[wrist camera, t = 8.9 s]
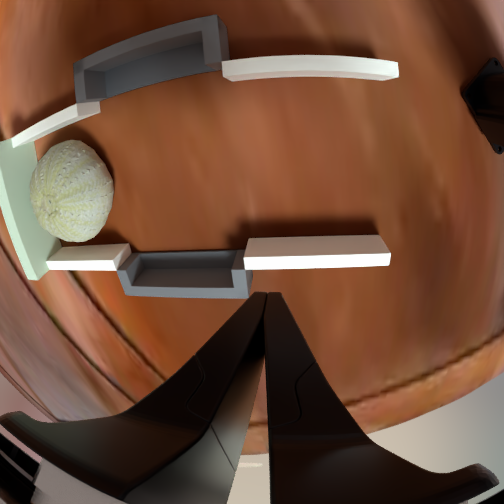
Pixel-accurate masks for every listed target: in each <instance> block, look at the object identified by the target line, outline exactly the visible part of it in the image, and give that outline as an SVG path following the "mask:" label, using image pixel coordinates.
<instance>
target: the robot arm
mask: <svg viewBox="0 0 504 504" xmlns="http://www.w3.org/2000/svg"><path fill="white" fill-rule="evenodd" d="M494 62H495V63H494ZM467 93H468V95H469V98H468V97H467ZM462 96H463V99H464V100H465V102H466V103H467V105H468V106H469V108H470V109H471V111H472V112H473V114H474V116H475V119H476V121H477V122H478V124H479V126H480V127H481V129H482V131H483V132H484V134H485V136H486V138H487V140H488V141H489V142H490V143H491V145H492V147H493V149H494V151H495V153H497V154H502V153H503V152H504V69H503V68H502V66H501V64H500V63H499V61H498V60H497V59H496V58H490V59H489V61H488V62H487V63H486V64H485V65H484V67H483V68H482V69H481V70H480V71H479V73H478V74H477V75H476V76H475V77H474V79H473V80H472V81H471V82H470V83H469V84H468V86H467V87H466V88H465V89H464V90H463V92H462ZM498 147H499V150H498ZM264 359H265V369H266V391H267V414H268V438H269V466H270V467H269V468H270V469H269V470H270V504H468V500H469V499H471V498H473V497H476V496H477V495H480V494H481V493H483V492H486V491H487V490H489V489H491V488H493V487H495V486H497V485H498V484H499V480H498V479H497V477H496V476H495V474H494V473H492V472H491V471H490V470H489V469H487V468H486V467H484V466H482V465H481V464H479V463H478V464H473V465H470V466H467V467H465V468H462V469H459V470H457V471H454V472H450V473H435V472H430V471H428V470H425V469H423V468H421V467H419V466H417V465H415V464H413V463H410V462H409V461H407V460H405V459H403V458H401V457H399V456H397V455H395V454H394V453H392V452H390V451H388V450H386V449H384V448H383V447H381V446H379V445H377V444H376V443H374V442H373V441H372V440H371V439H370V438H369V437H368V436H367V435H366V434H365V433H364V432H363V430H362V429H361V428H360V427H359V425H358V424H357V423H356V421H355V420H354V418H353V417H352V416H351V414H350V413H349V412H348V410H347V409H346V408H345V406H344V405H343V404H342V402H341V401H340V399H339V398H338V397H337V395H336V394H335V392H334V391H333V389H332V388H331V386H330V385H329V383H328V381H327V380H326V378H325V376H324V374H323V373H322V371H321V369H320V367H319V365H318V363H317V362H316V359H315V357H314V355H313V353H312V352H311V350H310V348H309V346H308V344H307V342H306V340H305V338H304V336H303V334H302V332H301V330H300V328H299V326H298V325H297V323H296V321H295V319H294V317H293V315H292V313H291V311H290V309H289V307H288V305H287V303H286V301H285V300H284V298H283V296H282V294H281V293H280V292H269V293H268V294H267V292H254V293H253V294H252V295H251V296H250V297H249V298H248V299H247V300H246V301H245V303H244V304H243V305H242V306H241V307H240V308H239V309H238V310H237V311H236V312H235V313H234V314H233V315H232V316H231V317H230V318H229V319H228V320H227V321H226V322H225V323H224V325H223V326H222V327H221V328H220V329H219V330H218V331H217V332H216V333H215V334H214V335H213V336H212V337H211V338H210V339H209V340H208V341H207V342H206V343H205V344H204V345H203V346H202V347H201V348H200V349H199V350H198V351H197V352H196V353H195V355H193V356H192V357H191V358H190V359H189V360H188V361H187V362H186V363H185V364H184V365H183V366H182V367H181V368H180V369H179V370H178V371H177V372H176V373H174V374H173V375H172V376H171V377H170V378H168V379H167V380H166V381H165V382H164V383H162V384H161V385H160V386H159V387H157V388H156V389H155V390H153V391H152V392H151V393H149V394H148V395H147V396H145V397H144V398H143V399H141V400H140V401H139V402H137V403H136V404H135V405H133V406H132V407H130V408H129V409H127V410H126V411H124V412H122V413H119V414H117V415H114V416H109V417H103V418H96V419H88V420H79V421H70V422H58V423H47V422H40V421H37V420H35V419H33V418H31V417H30V416H28V415H26V414H25V413H23V412H21V411H17V412H10V413H6V414H4V415H2V416H0V424H1V425H2V426H3V427H4V428H5V429H6V430H7V431H9V432H10V433H11V434H12V435H13V436H15V437H16V438H17V439H18V440H19V441H21V442H22V443H24V444H25V445H26V446H27V447H28V448H30V449H31V450H33V451H34V452H35V453H37V454H38V455H39V456H41V457H42V460H41V462H40V463H39V462H37V461H36V460H35V459H33V458H32V457H30V456H29V455H28V454H27V453H25V452H24V451H23V450H21V449H20V448H19V447H17V446H16V445H15V444H14V443H12V442H11V441H10V440H9V439H8V438H6V437H5V436H4V435H3V434H1V433H0V504H227V500H228V497H229V493H230V490H231V487H232V483H233V480H234V476H235V472H236V469H237V466H238V462H239V458H240V455H241V451H242V447H243V444H244V440H245V436H246V432H247V429H248V425H249V421H250V417H251V413H252V409H253V405H254V401H255V397H256V393H257V389H258V385H259V381H260V376H261V372H262V368H263V364H264ZM476 504H504V489H502V490H501V491H499V492H497V493H495V494H494V495H492V496H490V497H488V498H486V499H484V500H483V501H481V502H479V503H476Z"/></svg>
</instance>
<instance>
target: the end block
mask: <svg viewBox="0 0 504 504" xmlns="http://www.w3.org/2000/svg"><path fill="white" fill-rule="evenodd" d="M37 164H38V161H37V156H36V150H35V145H34V141H32V142H29V143H26V144H23V145H20V146H17V147H15V148H13V145H12V138H11V139H8V140H5V141H2V142H0V206H1V209H2V213H3V216H4V219H5V222H6V225H7V228H8V231H9V234H10V237H11V239H12V242H13V245H14V247H15V250H16V252H17V255H18V257H19V260H20V262H21V264H22V267H23V269H24V271H25V273H26V276H27V278H28V280H39V279H40V278H41V277H42V276H43V275H44V274H45V273H46V272H47V271H48V270H49V268H48V265H47V263H46V261H47V260H48V259H49V258H50V257H51V256H52V255H53V254H55V253H56V252H57V251H58V250H59V249H61V248H62V245H61V242H60V240H59V238H58V237H56V236H53V235H51V234H50V233H49V232H48V231H47V230H45V229H43V228H42V227H41V226H40V224H39V223H38V221H37V218H36V216H35V214H34V213H33V207H32V204H31V201H30V188H29V184H30V180H31V176H32V172H34V170H35V168H36V165H37Z"/></svg>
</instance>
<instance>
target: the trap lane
mask: <svg viewBox="0 0 504 504" xmlns="http://www.w3.org/2000/svg"><path fill="white" fill-rule="evenodd" d="M73 69H74V84H75V95H76V104H74V105H72V106H70V107H68V108H66V109H64V110H62V111H60V112H57V113H55V114H53V115H52V116H50V117H48V118H46V119H44V120H42V121H40V122H38V123H36V124H35V125H33V126H31V127H29V128H28V129H26V130H24V131H23V132H21V133H19V134H18V135H16V136H14V137H13V138H12V145H13V148H15V147H17V146H20V145H23V144H26V143H29V142H32V141H35V140H37V139H39V138H41V137H43V136H45V135H47V134H49V133H51V132H54V131H56V130H58V129H60V128H63V127H65V126H67V125H70V124H72V123H74V122H77V121H79V120H82V119H84V118H87V117H90V116H92V115H95V114H98V113H101V112H100V104H99V101H102V100H104V99H107V98H110V97H113V96H116V95H119V94H122V93H125V92H128V91H131V90H134V89H137V88H141V87H144V86H148V85H151V84H155V83H159V82H163V81H167V80H171V79H175V78H180V77H185V76H189V75H194V74H200V73H205V72H211V71H217V70H222V71H223V77H225V78H227V79H228V80H230V81H232V82H233V81H241V80H251V79H262V78H278V77H345V78H360V79H371V80H381V81H384V80H388V79H393V78H397V77H399V72H398V62H393V61H386V60H379V59H370V58H361V57H349V56H331V55H285V56H267V57H255V58H245V59H237V60H230V55H229V46H228V36H227V27H226V26H225V24H224V23H223V22H222V20H221V19H220V18H219V16H218V15H217V14H216V15H211V16H206V17H201V18H196V19H192V20H187V21H183V22H179V23H176V24H172V25H168V26H165V27H161V28H158V29H155V30H152V31H149V32H146V33H143V34H140V35H137V36H134V37H131V38H129V39H126V40H124V41H121V42H118V43H116V44H114V45H111V46H109V47H107V48H104V49H102V50H100V51H98V52H95V53H93V54H91V55H89V56H87V57H85V58H83V59H81V60H79V61H77V62H75V63H73ZM390 256H391V253H390V251H389V249H388V248H387V246H386V245H385V243H384V241H383V240H382V238H381V237H380V235H348V236H306V237H271V238H249V239H248V243H247V247H246V250H213V251H179V252H147V253H132V252H131V249H130V245H129V243H126V244H107V245H89V246H72V247H62V248H61V249H59V250H58V251H57V252H56V253H55V254H53V255H52V256H51V257H50V258H49V259H48V260H47V261H46V263H47V265H48V268H49V270H116V271H117V273H118V276H119V279H120V281H121V284H122V287H123V289H124V292H125V294H126V295H132V296H153V297H182V298H249V294H250V289H251V283H252V278H253V274H252V270H254V269H299V268H333V267H362V266H387V265H389V262H390Z"/></svg>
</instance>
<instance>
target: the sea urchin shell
mask: <svg viewBox="0 0 504 504" xmlns="http://www.w3.org/2000/svg"><path fill="white" fill-rule="evenodd" d="M29 188H30V201H31V204H32V207H33V213H34V214H35V216H36V218H37V221H38V223H39V224H40V226H41V227H42V228H43V229H45V230H47V231H48V232H49V233H50V234H51V235H53V236H56V237H58V238H60V239H63V240H64V241H65V240H66V241H67V242H68V241H70V242H72V241H74V242H84V241H87V240H89V239H91V238H94V237H95V236H96V235H97V234H98V232H99V231H100V230H101V228H102V227H103V226H104V225H105V224H106V220H107V216H108V214H109V212H110V210H111V208H112V201H113V194H114V187H113V179H112V178H111V175H110V173H109V172H108V170H107V168H106V164H105V163H103V161H102V160H101V159H100V158H99V156H98V155H97V154H96V152H95V150H94V149H92V148H91V147H89V146H88V145H86V144H84V143H83V142H81V141H76V140H66V141H64V142H62V143H59V144H57V145H55V146H52V147H51V148H50V149H49V150H48V151H47V153H46V154H45V155H44V156H43V157H42V158H41V159H40V160H39V162H38V164H37V165H36V168H35V170H34V172H32V176H31V180H30V184H29Z"/></svg>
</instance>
